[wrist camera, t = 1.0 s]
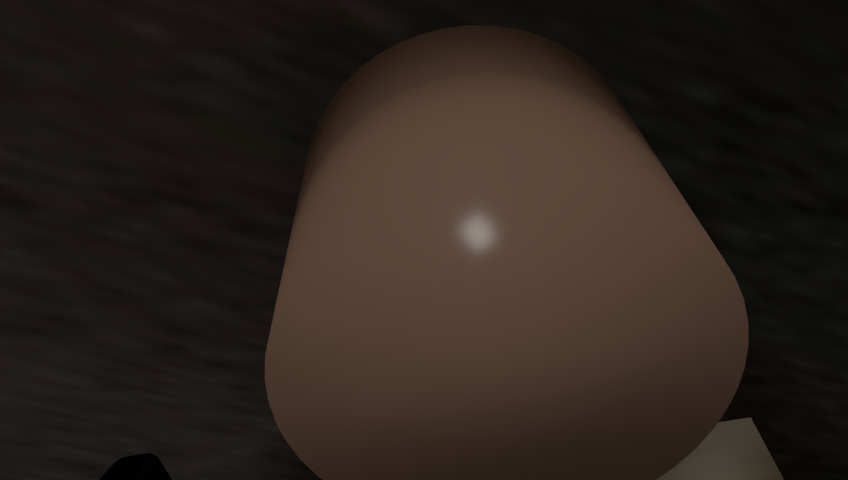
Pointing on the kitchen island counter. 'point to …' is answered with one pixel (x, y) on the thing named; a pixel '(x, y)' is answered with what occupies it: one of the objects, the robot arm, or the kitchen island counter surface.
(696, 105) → the kitchen island counter surface
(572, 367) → the tan short cylinder
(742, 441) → the base slab
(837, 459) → the kitchen island counter surface
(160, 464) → the robot arm
